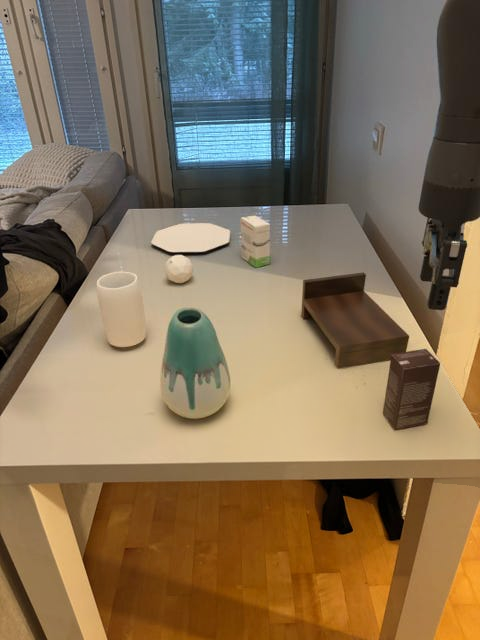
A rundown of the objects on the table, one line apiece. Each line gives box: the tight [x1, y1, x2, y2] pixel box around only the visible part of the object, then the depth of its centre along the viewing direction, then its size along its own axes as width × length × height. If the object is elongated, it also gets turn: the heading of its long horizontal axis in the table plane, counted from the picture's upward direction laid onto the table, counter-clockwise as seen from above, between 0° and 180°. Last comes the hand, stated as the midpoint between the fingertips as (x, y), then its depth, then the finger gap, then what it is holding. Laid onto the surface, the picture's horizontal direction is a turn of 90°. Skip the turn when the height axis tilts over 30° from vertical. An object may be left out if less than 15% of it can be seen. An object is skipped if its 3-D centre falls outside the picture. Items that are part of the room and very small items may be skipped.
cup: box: [96, 271, 147, 348], centre depth 93 cm, size 8×8×14 cm
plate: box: [150, 222, 231, 254], centre depth 144 cm, size 24×24×2 cm
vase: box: [159, 307, 231, 420], centre depth 75 cm, size 12×12×18 cm
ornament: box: [164, 254, 194, 284], centre depth 118 cm, size 7×7×8 cm
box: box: [382, 348, 441, 430], centre depth 72 cm, size 6×4×12 cm
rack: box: [300, 272, 410, 370], centre depth 95 cm, size 14×20×9 cm
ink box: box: [240, 215, 271, 268], centre depth 127 cm, size 9×5×12 cm, turn 27°
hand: (431, 293), depth 65 cm, fingers open, 8 cm apart
